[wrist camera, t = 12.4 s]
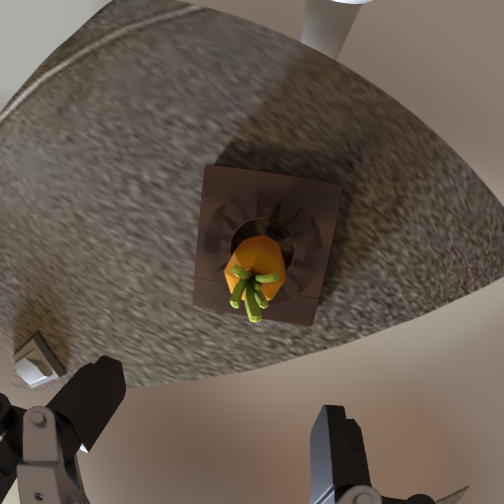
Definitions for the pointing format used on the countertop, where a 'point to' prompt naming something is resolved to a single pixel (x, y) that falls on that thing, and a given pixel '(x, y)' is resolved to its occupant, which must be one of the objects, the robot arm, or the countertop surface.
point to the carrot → (255, 274)
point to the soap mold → (36, 363)
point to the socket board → (273, 208)
